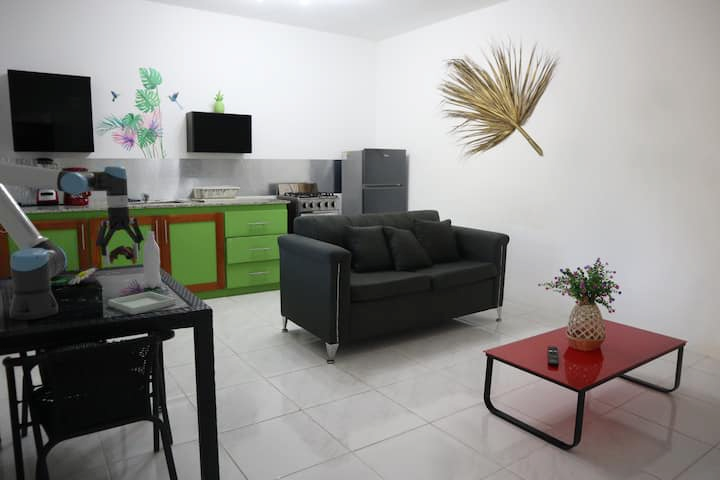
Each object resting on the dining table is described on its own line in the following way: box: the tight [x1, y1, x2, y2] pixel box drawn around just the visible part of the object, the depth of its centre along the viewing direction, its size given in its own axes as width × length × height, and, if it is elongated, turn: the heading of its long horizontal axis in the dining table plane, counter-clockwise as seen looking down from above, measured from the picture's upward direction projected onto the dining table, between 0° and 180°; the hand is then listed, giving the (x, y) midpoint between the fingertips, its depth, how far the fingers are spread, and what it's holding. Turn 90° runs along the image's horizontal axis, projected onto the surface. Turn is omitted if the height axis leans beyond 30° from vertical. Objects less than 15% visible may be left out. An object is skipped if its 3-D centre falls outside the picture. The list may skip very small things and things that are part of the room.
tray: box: [107, 291, 176, 316], centre depth 202 cm, size 18×18×2 cm
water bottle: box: [142, 230, 162, 289], centre depth 230 cm, size 7×7×25 cm
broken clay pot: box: [109, 244, 137, 265], centre depth 205 cm, size 12×10×8 cm
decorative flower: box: [50, 267, 97, 286], centre depth 233 cm, size 13×5×30 cm
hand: (121, 261), depth 205 cm, fingers closed on broken clay pot, 11 cm apart
